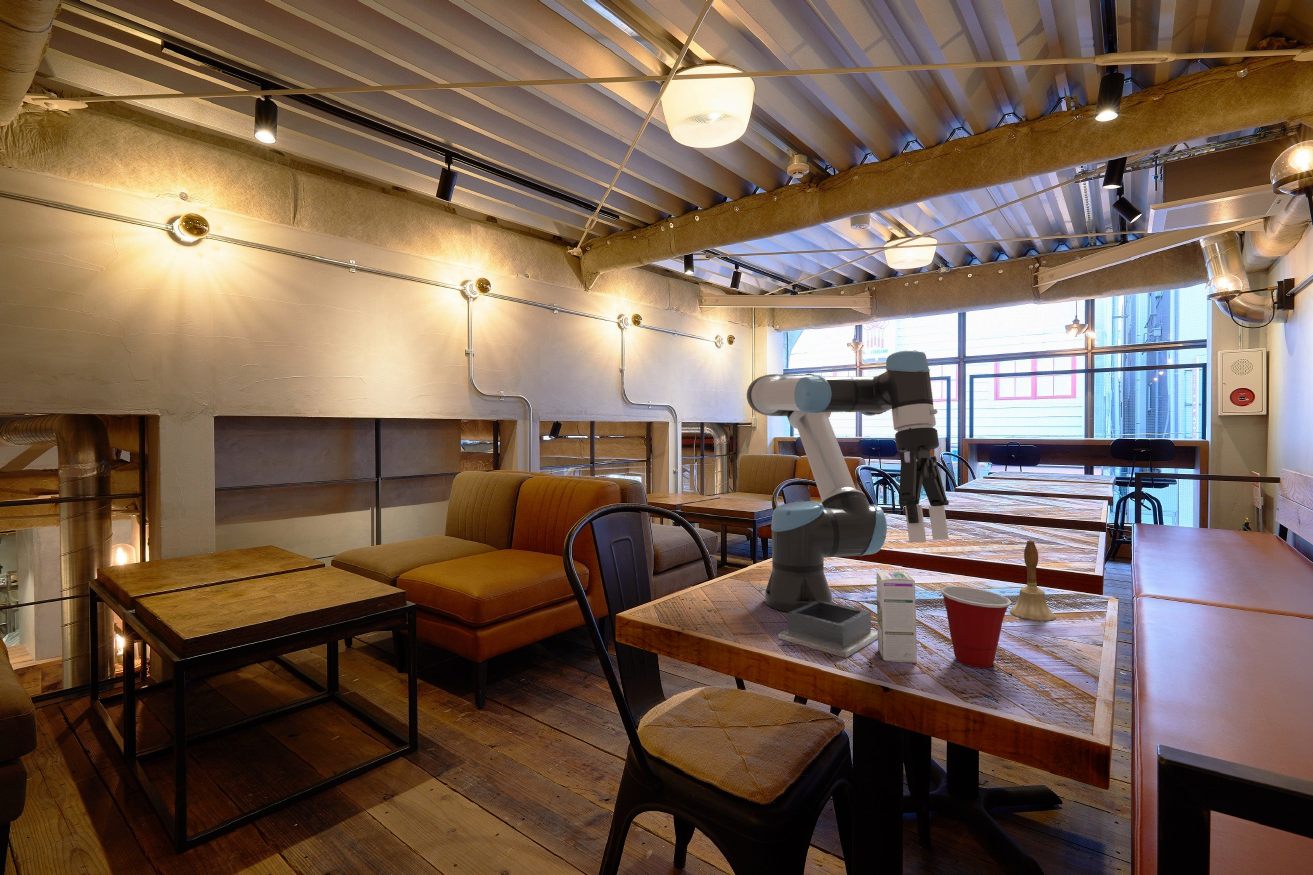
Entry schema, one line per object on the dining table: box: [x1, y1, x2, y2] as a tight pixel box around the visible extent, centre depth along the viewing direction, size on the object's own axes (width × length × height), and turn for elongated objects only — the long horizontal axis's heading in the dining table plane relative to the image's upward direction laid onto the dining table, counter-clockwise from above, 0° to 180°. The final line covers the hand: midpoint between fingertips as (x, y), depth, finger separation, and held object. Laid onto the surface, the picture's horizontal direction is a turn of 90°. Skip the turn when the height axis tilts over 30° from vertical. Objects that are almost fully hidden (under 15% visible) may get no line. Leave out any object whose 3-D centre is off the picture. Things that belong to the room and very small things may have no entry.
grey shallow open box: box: [778, 600, 878, 659], centre depth 112 cm, size 14×14×5 cm
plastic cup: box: [940, 585, 1012, 669], centre depth 100 cm, size 11×11×12 cm
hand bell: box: [1009, 540, 1056, 622], centre depth 124 cm, size 8×8×16 cm
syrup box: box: [876, 571, 918, 664], centre depth 103 cm, size 6×6×14 cm
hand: (929, 541), depth 108 cm, fingers open, 13 cm apart
